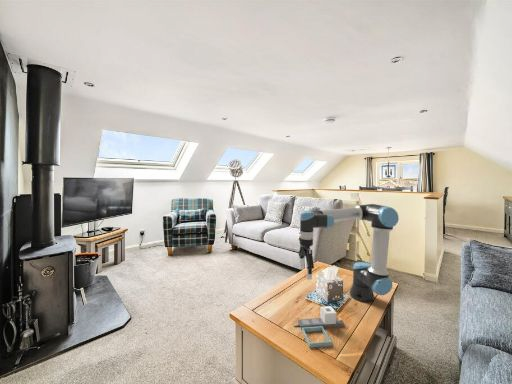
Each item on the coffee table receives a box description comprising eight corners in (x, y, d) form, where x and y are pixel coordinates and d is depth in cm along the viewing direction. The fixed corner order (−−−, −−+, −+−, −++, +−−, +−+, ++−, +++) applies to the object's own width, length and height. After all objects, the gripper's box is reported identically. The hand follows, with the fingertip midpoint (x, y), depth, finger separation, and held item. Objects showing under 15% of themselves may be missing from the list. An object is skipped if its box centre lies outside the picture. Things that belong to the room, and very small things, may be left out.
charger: (330, 320, 125) (331, 306, 124) (335, 327, 119) (336, 312, 118) (320, 320, 124) (320, 306, 124) (324, 328, 118) (325, 313, 118)
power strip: (339, 321, 125) (339, 315, 125) (343, 328, 120) (344, 321, 120) (292, 325, 122) (292, 318, 122) (295, 331, 117) (295, 325, 117)
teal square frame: (321, 331, 117) (322, 326, 117) (331, 347, 106) (331, 341, 106) (301, 333, 116) (301, 327, 116) (309, 349, 105) (309, 343, 105)
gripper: (294, 232, 140) (293, 265, 141) (307, 244, 115) (305, 284, 117) (305, 232, 141) (304, 265, 142) (321, 244, 116) (319, 283, 117)
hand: (305, 273), depth 129 cm, fingers open, 13 cm apart
